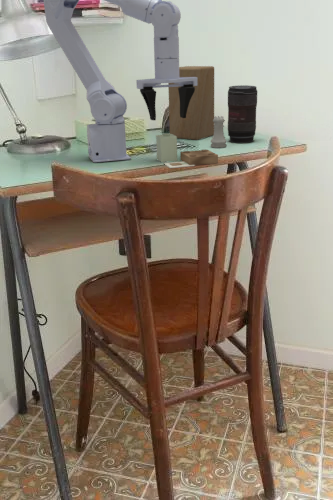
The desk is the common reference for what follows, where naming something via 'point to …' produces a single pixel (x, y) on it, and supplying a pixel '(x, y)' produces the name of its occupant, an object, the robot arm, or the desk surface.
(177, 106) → the wooden block
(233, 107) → the camera lens
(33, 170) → the desk surface
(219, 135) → the rook chess piece
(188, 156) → the base brick
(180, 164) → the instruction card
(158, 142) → the top brick
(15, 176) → the desk surface
